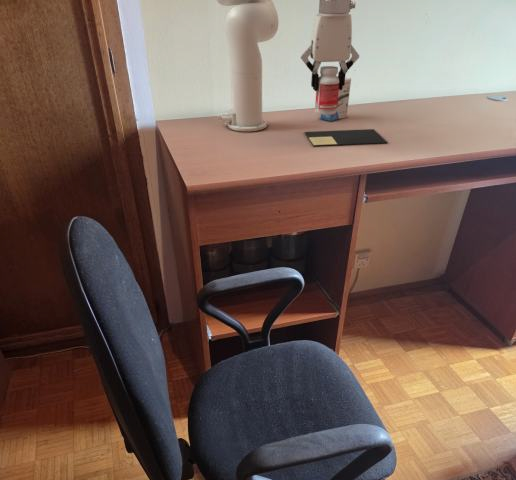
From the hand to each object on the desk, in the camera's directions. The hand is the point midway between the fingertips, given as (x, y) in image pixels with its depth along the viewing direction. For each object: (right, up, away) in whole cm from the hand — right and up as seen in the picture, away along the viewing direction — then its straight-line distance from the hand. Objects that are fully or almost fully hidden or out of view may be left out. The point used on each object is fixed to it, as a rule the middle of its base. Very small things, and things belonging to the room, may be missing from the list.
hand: (327, 88), depth 123 cm
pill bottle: (0, -5, +4) cm, 6 cm away
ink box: (+7, +6, +29) cm, 30 cm away
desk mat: (+7, -8, +12) cm, 16 cm away
